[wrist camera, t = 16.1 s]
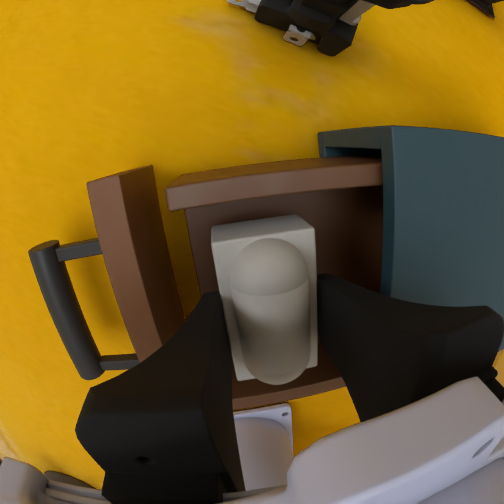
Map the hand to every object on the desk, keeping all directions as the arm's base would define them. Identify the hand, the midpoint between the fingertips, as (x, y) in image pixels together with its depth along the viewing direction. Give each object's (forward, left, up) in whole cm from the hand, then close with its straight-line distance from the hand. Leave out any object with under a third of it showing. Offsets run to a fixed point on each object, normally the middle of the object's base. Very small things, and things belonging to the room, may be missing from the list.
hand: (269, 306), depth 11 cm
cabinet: (0, -12, -5) cm, 13 cm away
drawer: (0, +1, -5) cm, 5 cm away
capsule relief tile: (0, 0, -1) cm, 1 cm away
